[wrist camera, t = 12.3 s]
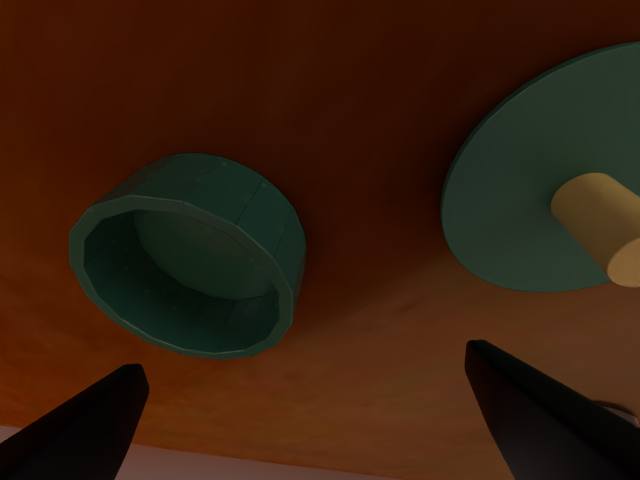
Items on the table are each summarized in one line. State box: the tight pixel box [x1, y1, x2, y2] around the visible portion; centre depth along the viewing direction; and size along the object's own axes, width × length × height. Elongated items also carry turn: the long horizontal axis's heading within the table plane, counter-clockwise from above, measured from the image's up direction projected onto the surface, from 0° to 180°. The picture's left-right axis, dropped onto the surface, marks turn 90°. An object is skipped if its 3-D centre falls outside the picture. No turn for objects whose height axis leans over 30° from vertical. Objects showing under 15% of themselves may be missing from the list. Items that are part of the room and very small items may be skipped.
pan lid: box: [440, 41, 640, 292], centre depth 13 cm, size 12×12×6 cm
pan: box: [69, 153, 306, 360], centre depth 18 cm, size 11×11×5 cm
